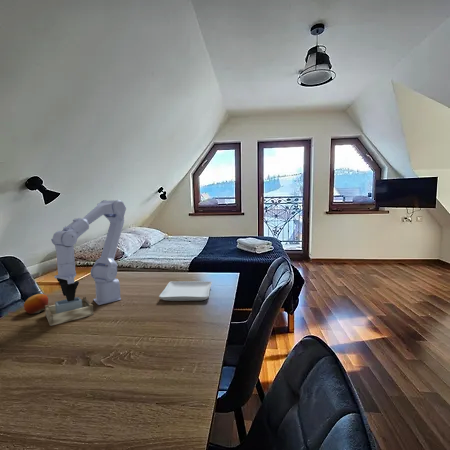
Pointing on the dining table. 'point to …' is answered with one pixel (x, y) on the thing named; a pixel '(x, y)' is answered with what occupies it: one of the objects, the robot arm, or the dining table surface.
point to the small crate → (68, 305)
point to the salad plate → (186, 291)
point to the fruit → (35, 303)
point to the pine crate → (68, 313)
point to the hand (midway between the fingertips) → (68, 297)
